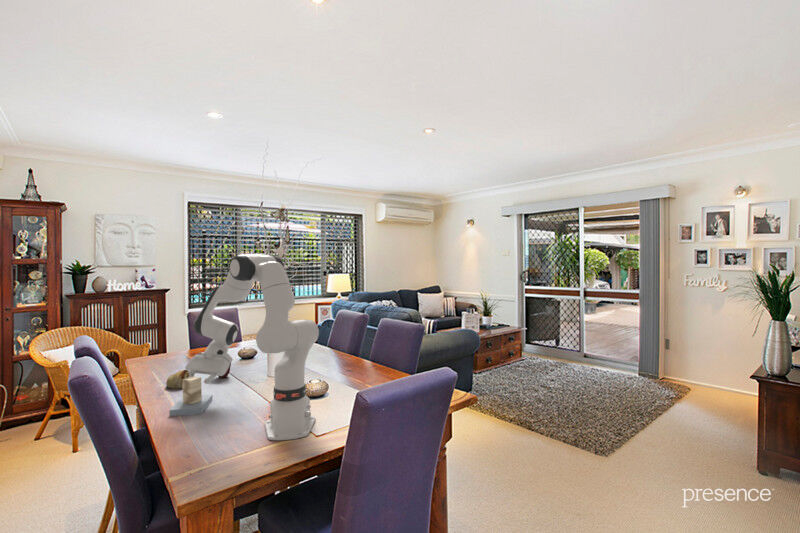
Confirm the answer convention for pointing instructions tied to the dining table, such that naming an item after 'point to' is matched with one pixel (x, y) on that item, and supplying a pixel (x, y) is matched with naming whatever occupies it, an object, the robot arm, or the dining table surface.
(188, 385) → the maple block
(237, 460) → the dining table surface
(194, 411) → the base plate
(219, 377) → the mug
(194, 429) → the dining table surface
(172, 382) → the pastry
